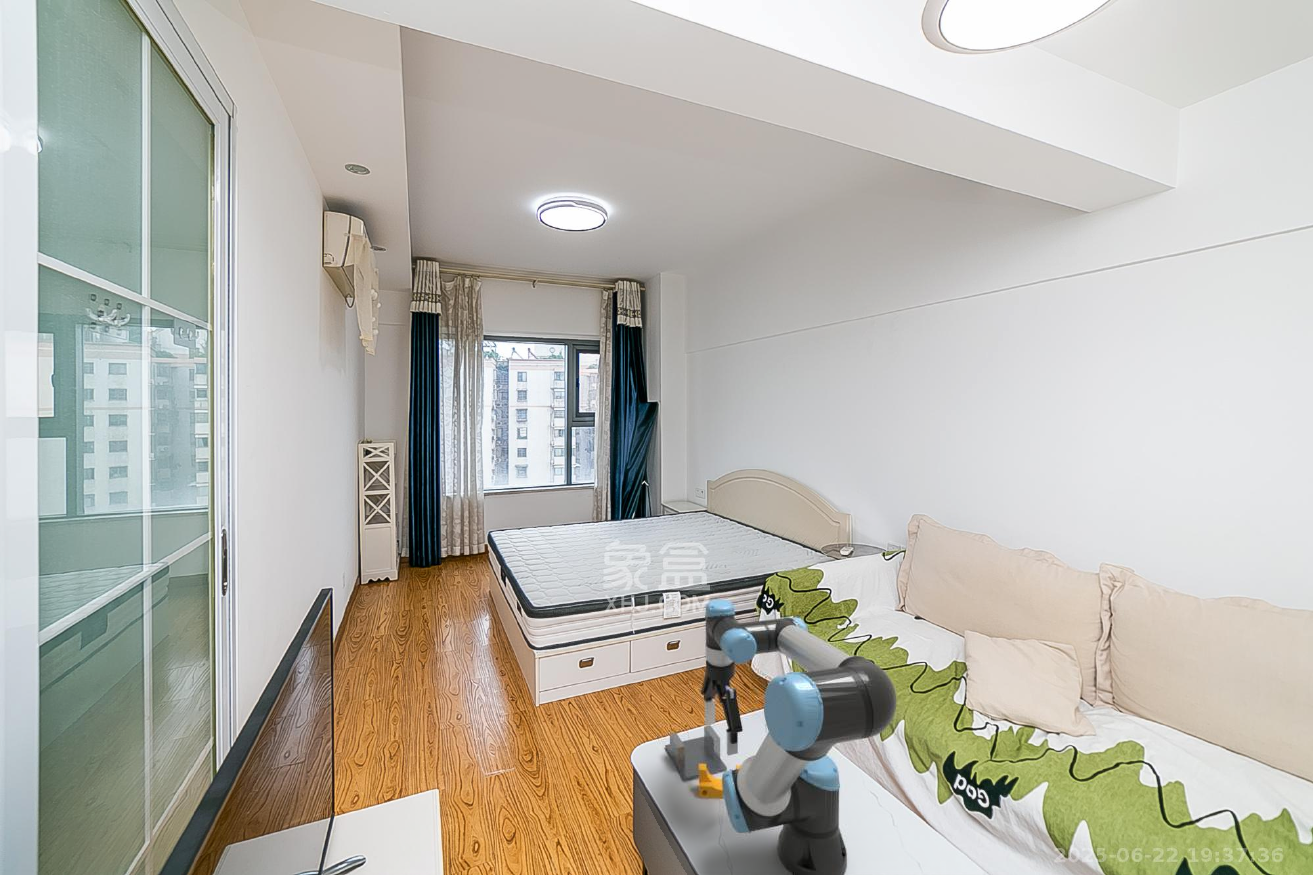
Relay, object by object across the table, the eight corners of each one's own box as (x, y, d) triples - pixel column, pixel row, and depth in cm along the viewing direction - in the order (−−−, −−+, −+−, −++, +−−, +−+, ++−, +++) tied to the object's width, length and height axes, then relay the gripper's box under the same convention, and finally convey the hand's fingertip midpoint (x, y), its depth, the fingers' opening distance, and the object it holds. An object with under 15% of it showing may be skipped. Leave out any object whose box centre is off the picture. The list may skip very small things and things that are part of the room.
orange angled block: (699, 797, 145) (698, 774, 144) (699, 786, 149) (698, 763, 149) (744, 799, 144) (744, 776, 143) (743, 788, 148) (743, 765, 148)
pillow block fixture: (726, 770, 155) (726, 746, 155) (684, 781, 151) (683, 756, 150) (704, 739, 170) (704, 717, 169) (665, 748, 165) (664, 725, 165)
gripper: (756, 680, 133) (756, 764, 134) (713, 638, 157) (713, 710, 158) (728, 685, 131) (728, 771, 132) (689, 642, 154) (689, 715, 155)
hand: (720, 738), depth 145 cm, fingers open, 13 cm apart
